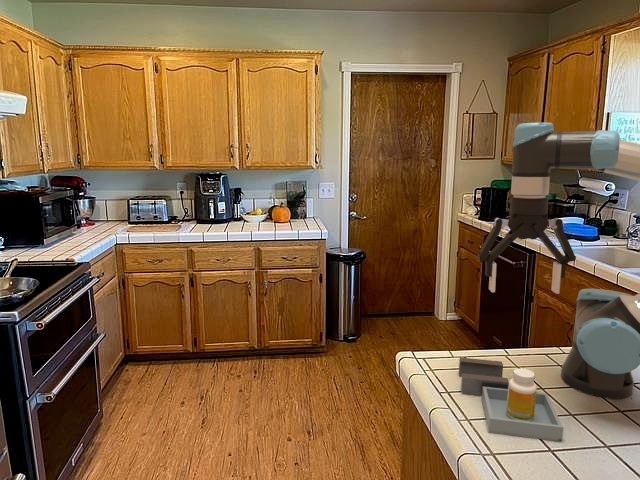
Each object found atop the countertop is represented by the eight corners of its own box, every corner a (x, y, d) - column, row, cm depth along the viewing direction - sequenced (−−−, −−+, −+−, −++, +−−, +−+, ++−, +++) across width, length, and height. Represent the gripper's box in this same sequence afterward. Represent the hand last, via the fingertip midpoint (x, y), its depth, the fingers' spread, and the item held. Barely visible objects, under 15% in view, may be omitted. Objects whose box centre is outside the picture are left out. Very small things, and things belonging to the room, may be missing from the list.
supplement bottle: (536, 424, 97) (541, 380, 95) (507, 421, 98) (512, 377, 96) (530, 410, 102) (535, 368, 100) (504, 407, 103) (508, 365, 101)
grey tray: (545, 406, 105) (547, 393, 105) (561, 441, 92) (563, 427, 92) (481, 398, 108) (482, 386, 108) (488, 432, 95) (489, 418, 95)
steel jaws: (500, 376, 119) (501, 361, 118) (507, 399, 108) (509, 382, 107) (458, 372, 121) (459, 357, 120) (461, 394, 110) (462, 377, 109)
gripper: (583, 194, 106) (575, 287, 110) (466, 195, 109) (463, 285, 112) (598, 197, 98) (589, 297, 102) (473, 197, 101) (469, 294, 105)
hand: (523, 291), depth 107 cm, fingers open, 13 cm apart
